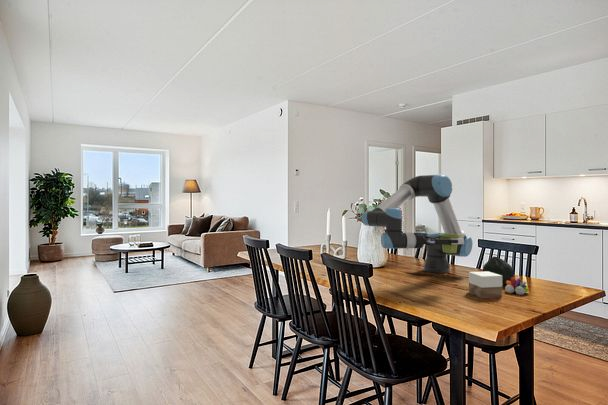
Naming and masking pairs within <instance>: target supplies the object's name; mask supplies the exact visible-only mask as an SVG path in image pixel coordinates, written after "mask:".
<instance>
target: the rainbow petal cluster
mask: <svg viewBox="0 0 608 405" xmlns="http://www.w3.org/2000/svg"><path fill="white" fill-rule="evenodd" d="M506 283H507V285H505V287H504V290H505V292H506V293H508V294H513V293H516V294H517V295H519V296H523V295H524V294H525V293H527V292H528V291H529V287H528V285H526V284H527V281H523V282H522V279H521V278H520V277H518V278H517V279H516V278H515V277H514V276H513V277H512V278H511V281H506Z"/></svg>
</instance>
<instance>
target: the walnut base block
mask: <svg viewBox="0 0 608 405" xmlns="http://www.w3.org/2000/svg"><path fill="white" fill-rule="evenodd" d="M468 293H469V294H472V295H473V294H474V295H473V296H476V297H477V298H480V299H488V298H492V299H494V298H502V297H503V286H502V287H485V288H482V287H479V286H476V285H474V284H471V283H469V282H468Z"/></svg>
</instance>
